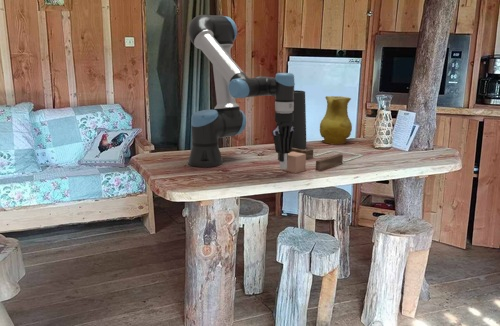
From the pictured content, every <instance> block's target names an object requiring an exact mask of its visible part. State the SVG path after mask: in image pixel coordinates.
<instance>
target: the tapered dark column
mask: <svg viewBox="0 0 500 326" xmlns="http://www.w3.org/2000/svg"><path fill="white" fill-rule="evenodd" d="M306 108H307V107H306V91H304V90H298V89H297V90H295V89H294V111H293V113H294V120H293V122H291V123H292V127H295V128H296V130H295V133H294V138H293V144H292V148H297V149H302V150H307V118H306V117H307V115H306V114H307V113H306V112H307V111H306V110H307V109H306Z"/></svg>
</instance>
